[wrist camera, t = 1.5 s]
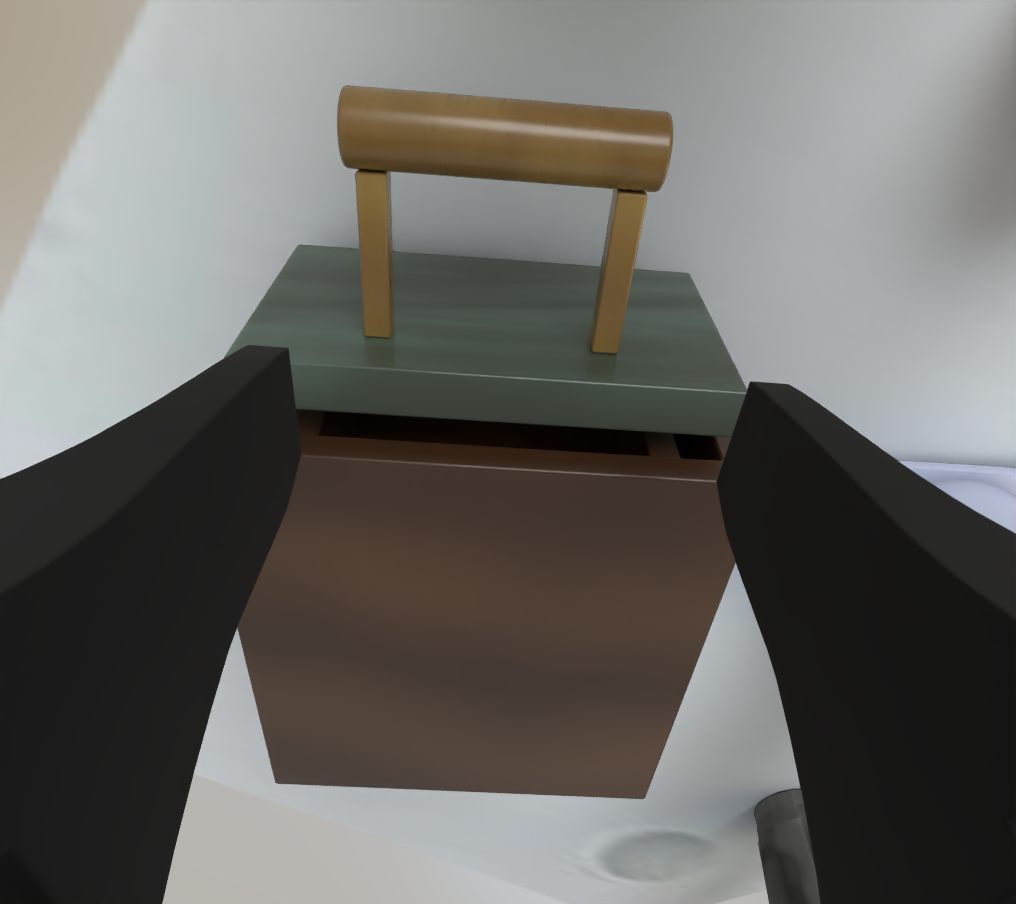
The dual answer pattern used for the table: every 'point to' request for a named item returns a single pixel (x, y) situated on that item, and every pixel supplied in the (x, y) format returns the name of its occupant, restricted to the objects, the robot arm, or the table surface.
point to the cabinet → (484, 615)
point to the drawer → (498, 295)
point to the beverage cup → (786, 849)
